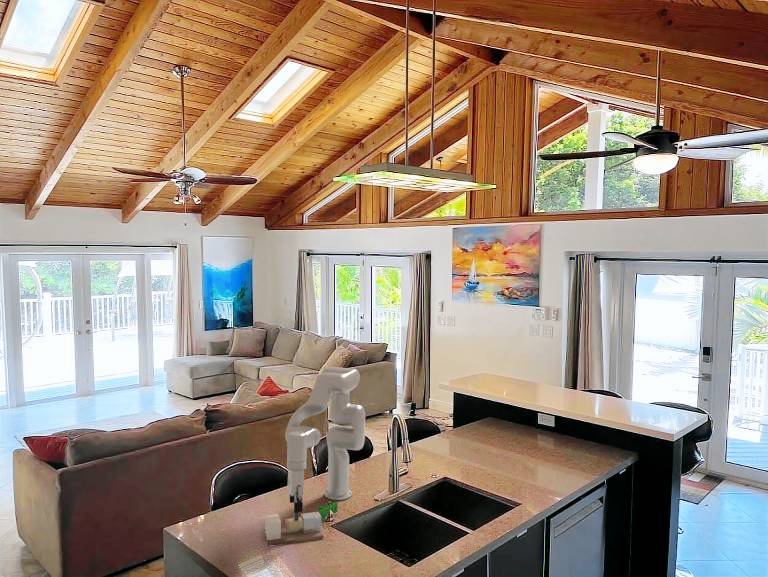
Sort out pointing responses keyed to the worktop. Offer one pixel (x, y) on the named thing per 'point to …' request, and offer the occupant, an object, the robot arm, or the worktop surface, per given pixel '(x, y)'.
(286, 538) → the base board
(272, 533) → the socket
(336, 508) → the pipe clamp
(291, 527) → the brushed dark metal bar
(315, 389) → the robot arm
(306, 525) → the sleeve
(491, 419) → the worktop surface
